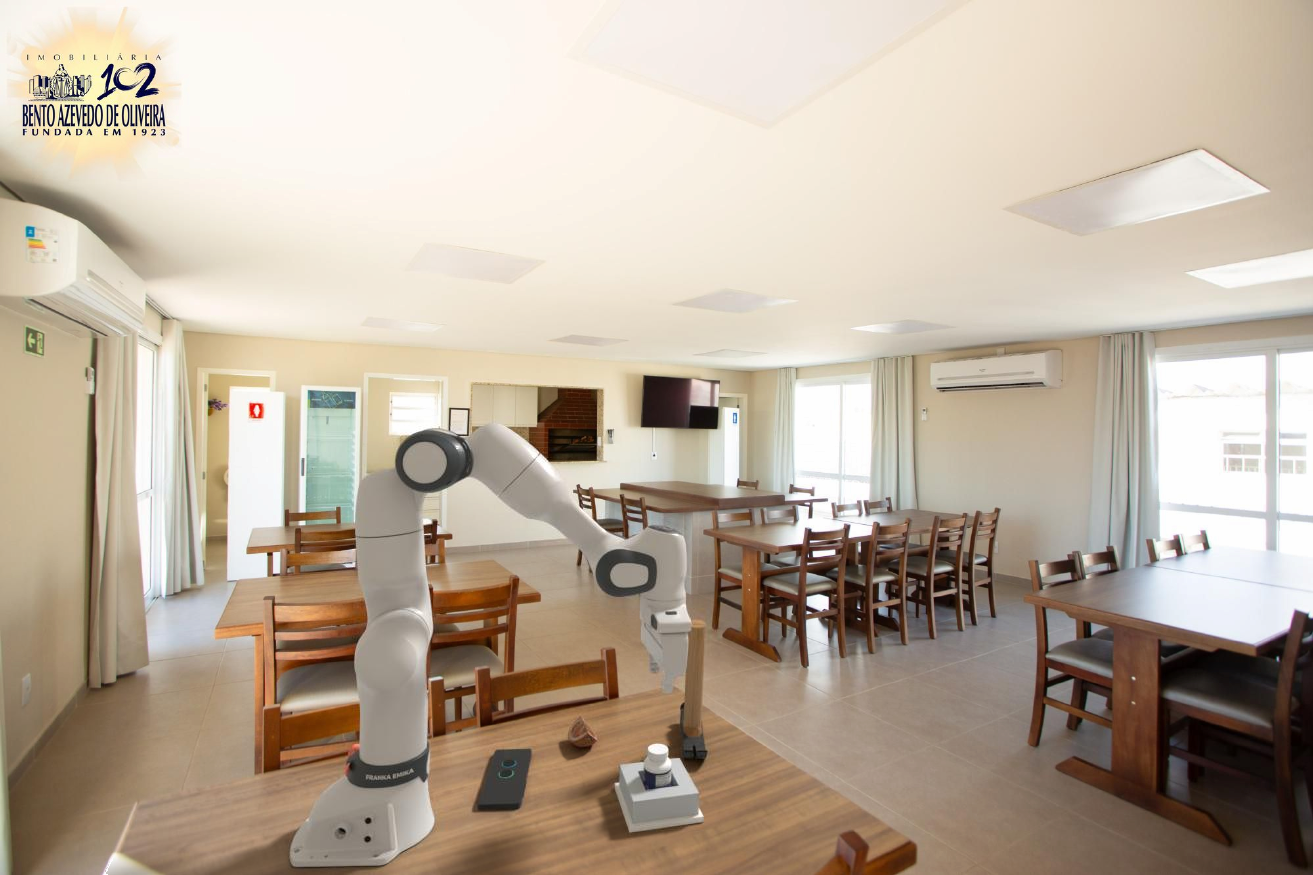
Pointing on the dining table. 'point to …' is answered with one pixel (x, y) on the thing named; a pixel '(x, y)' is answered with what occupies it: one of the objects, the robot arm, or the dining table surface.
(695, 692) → the hammer
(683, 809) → the socket block
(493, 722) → the dining table surface
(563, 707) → the dining table surface
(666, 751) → the pill bottle
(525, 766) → the smart home device
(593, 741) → the fruit slice
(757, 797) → the dining table surface
